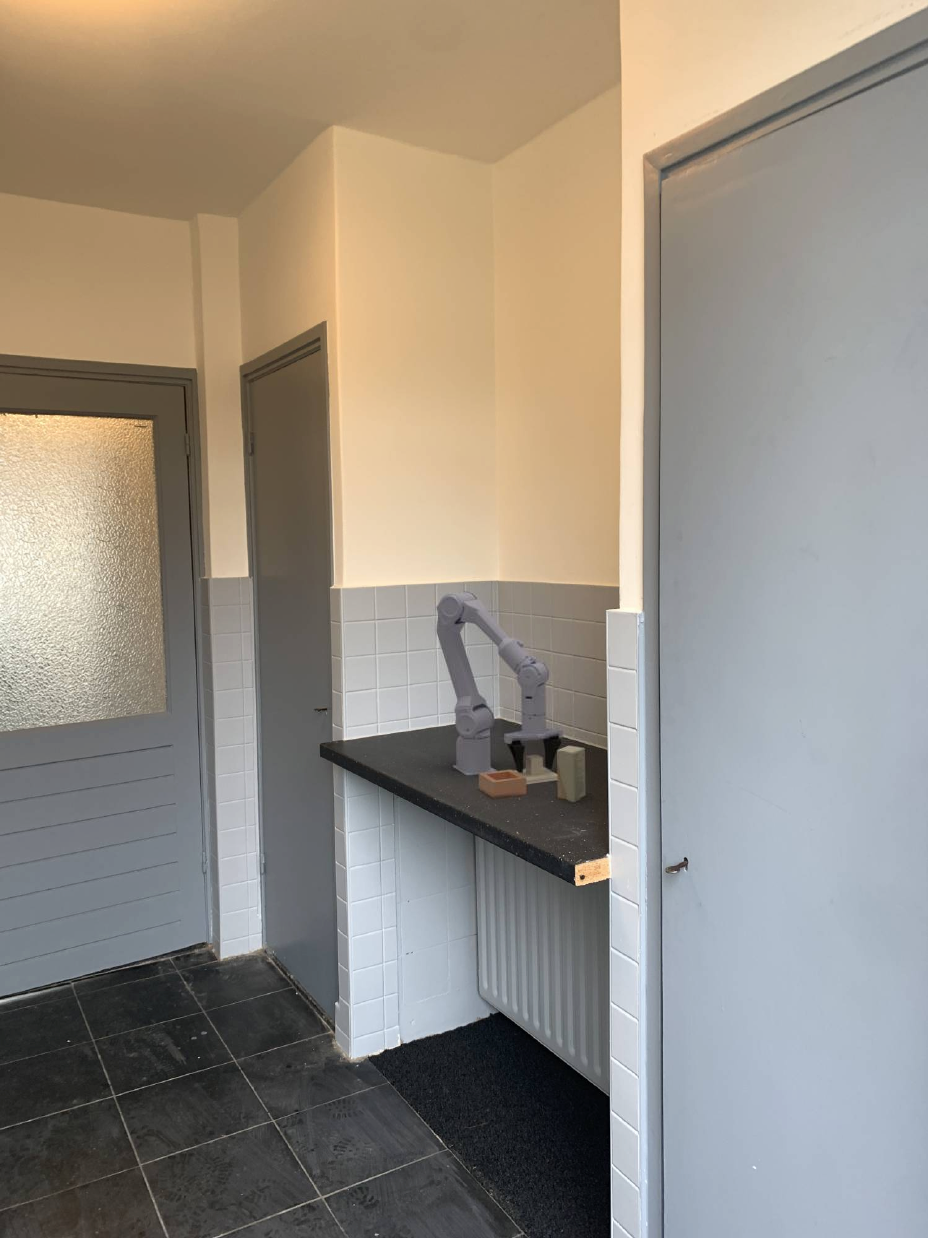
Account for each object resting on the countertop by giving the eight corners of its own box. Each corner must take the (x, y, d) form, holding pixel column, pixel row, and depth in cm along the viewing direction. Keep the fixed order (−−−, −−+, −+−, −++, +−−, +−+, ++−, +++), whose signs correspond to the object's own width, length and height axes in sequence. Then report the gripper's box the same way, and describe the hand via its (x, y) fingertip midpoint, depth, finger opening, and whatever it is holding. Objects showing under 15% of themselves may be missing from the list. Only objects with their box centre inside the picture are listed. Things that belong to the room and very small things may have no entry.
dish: (479, 791, 204) (478, 773, 203) (511, 786, 207) (510, 769, 206) (493, 800, 196) (493, 782, 196) (526, 795, 199) (526, 778, 199)
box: (569, 793, 200) (569, 745, 199) (586, 797, 198) (586, 747, 197) (556, 799, 196) (556, 749, 195) (573, 803, 194) (573, 752, 192)
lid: (509, 774, 216) (508, 754, 215) (542, 770, 219) (542, 750, 219) (525, 783, 208) (525, 763, 207) (560, 779, 211) (560, 758, 211)
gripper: (513, 719, 206) (513, 777, 207) (569, 713, 211) (569, 770, 212) (500, 714, 212) (501, 770, 213) (554, 708, 218) (555, 763, 219)
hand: (534, 770), depth 213 cm, fingers open, 7 cm apart
